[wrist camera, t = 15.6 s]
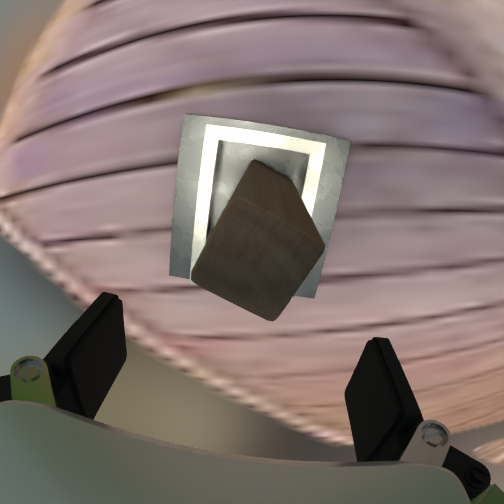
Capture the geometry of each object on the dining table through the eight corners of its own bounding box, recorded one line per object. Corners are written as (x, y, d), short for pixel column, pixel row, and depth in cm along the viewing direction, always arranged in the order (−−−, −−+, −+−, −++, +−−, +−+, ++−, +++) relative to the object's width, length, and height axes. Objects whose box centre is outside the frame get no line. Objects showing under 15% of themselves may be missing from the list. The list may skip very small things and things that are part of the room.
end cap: (347, 140, 29) (357, 141, 25) (313, 294, 35) (317, 310, 32) (186, 114, 28) (176, 112, 25) (171, 271, 35) (162, 285, 31)
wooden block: (248, 256, 32) (230, 385, 16) (209, 236, 32) (152, 349, 15) (294, 180, 29) (330, 247, 13) (253, 157, 29) (233, 192, 12)
